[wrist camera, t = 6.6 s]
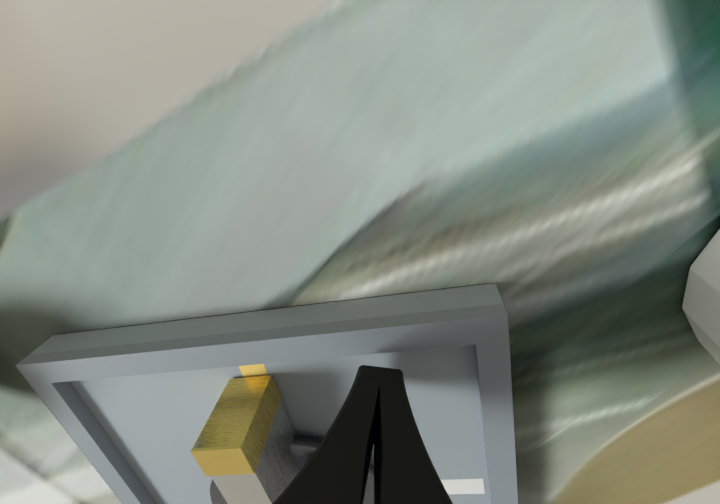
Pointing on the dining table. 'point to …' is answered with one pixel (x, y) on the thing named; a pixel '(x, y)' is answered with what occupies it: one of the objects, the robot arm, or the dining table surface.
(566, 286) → the dining table surface
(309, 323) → the dial plate
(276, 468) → the dial
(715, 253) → the white cup
